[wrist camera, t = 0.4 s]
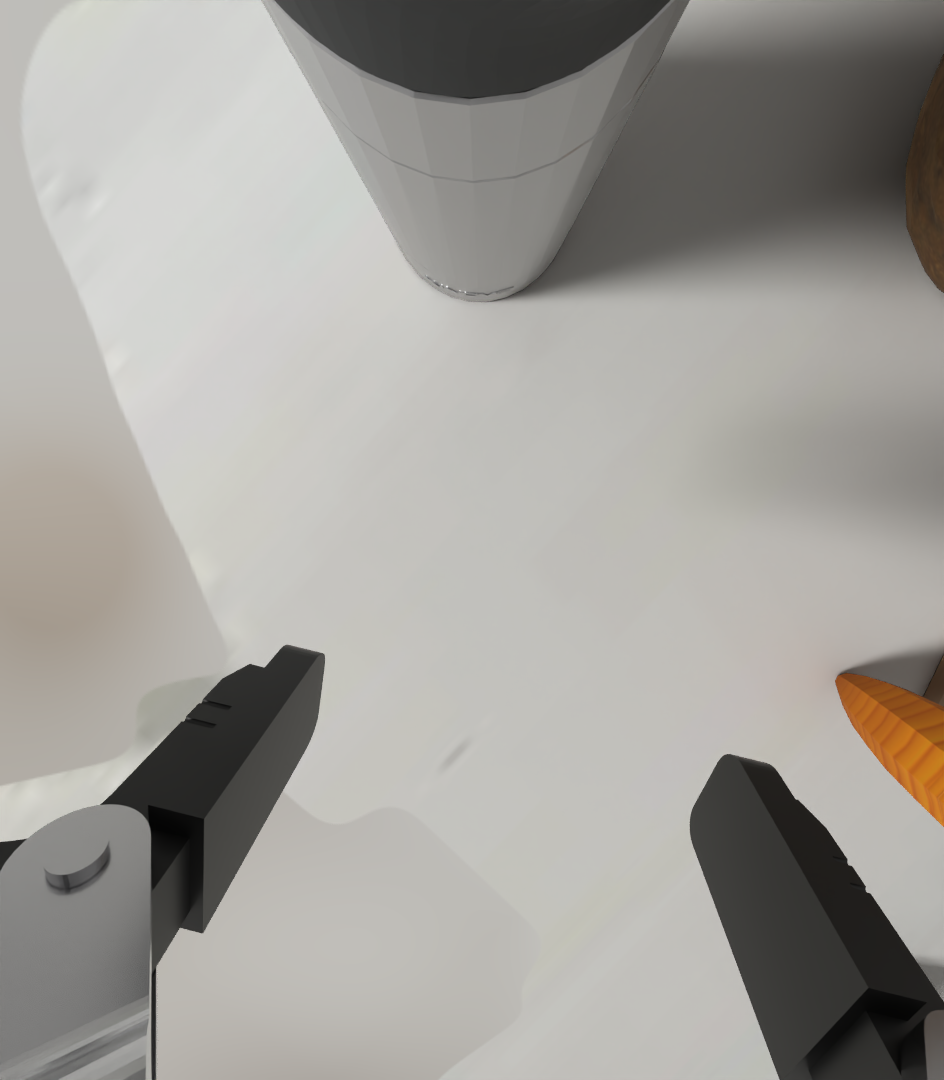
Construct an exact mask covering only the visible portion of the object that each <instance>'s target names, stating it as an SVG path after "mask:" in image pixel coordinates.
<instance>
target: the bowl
mask: <svg viewBox="0 0 944 1080" xmlns="http://www.w3.org/2000/svg"><path fill="white" fill-rule="evenodd" d="M906 221H907V229H908V232H909V234H910V237H911V239H912V242H913V244H914V247H915V249H916V252H917V254H918V256H919V259H920V261H921V263H922V266H923V268H924V270H925V272H926V273H927V275H928V276H929V277H930V279H931V280H932V281H933V282H934V284H935V285H936V286H937V288H938V289H939V290H941V291H942V292H943V293H944V54H943V56H942V58H941V61H940V63H939V65H938V68H937V70H936V72H935V75H934V77H933V80H932V82H931V85H930V87H929V90H928V93H927V95H926V98H925V100H924V103H923V105H922V108H921V111H920V114H919V117H918V121H917V125H916V128H915V132H914V136H913V140H912V144H911V148H910V152H909V156H908V161H907V165H906Z"/></svg>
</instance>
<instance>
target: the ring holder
mask: <svg viewBox="0 0 944 1080" xmlns="http://www.w3.org/2000/svg"><path fill="white" fill-rule="evenodd" d="M923 697H924V698H926V699H928V700H930V701H933V702H935V703H937V704H939V705H941V706H943V707H944V655H943V657H942V659H941V662H940V664H939V666H938V668H937V670H936V672H935V674H934V676H933V678H932V680H931V682H930V684H929V686H928V688H927V690H926V692H925V694H924V696H923Z"/></svg>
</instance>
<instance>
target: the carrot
mask: <svg viewBox="0 0 944 1080" xmlns="http://www.w3.org/2000/svg"><path fill="white" fill-rule="evenodd" d="M835 683H836V686H837V690H838V693H839V696H840V699H841V702H842V705H843V707H844V709H845V711H846V713H847V715H848V717H849V719H850V721H851V723H852V725H853V727H854V728H855V730H856V731H857V732H858V734H859V735H860V736H861V738H862V739H863V741H864V742H865V743H866V745H867V746H868V747H869V749H870V750H871V751H872V752H873V754H874V755H875V756H876V757H877V759H878V760H879V761H880V762H881V764H882V765H883V766H884V767H885V769H886V770H887V771H888V772H889V773H890V774H891V775H892V776H893V777H894V778H895V779H896V780H897V781H898V782H899V783H900V784H901V785H902V786H903V787H904V788H905V789H906V790H907V791H908V792H909V793H910V794H911V795H912V796H913V797H914V798H915V799H916V800H917V801H918V802H919V803H920V804H921V805H922V806H923V807H924V808H925V809H926V810H927V811H928V812H929V813H930V814H931V815H932V816H933V817H934V818H935V819H936V820H937V821H938V822H939V823H940V824H941V825H942V826H943V827H944V707H943V706H941V705H939V704H937V703H935V702H933V701H930V700H928V699H926V698H924V697H921V696H919V695H917V694H915V693H912V692H910V691H908V690H906V689H903V688H900V687H898V686H895V685H892V684H889V683H886V682H883V681H880V680H877V679H873V678H870V677H867V676H862V675H856V674H849V673H845V674H841V675H838V676H837V678H836V680H835Z"/></svg>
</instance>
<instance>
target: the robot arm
mask: <svg viewBox="0 0 944 1080" xmlns="http://www.w3.org/2000/svg"><path fill="white" fill-rule="evenodd" d="M261 1H262V2H263V4H264V6H265V8H266V9H267V11H268V13H269V15H270V17H271V18H272V20H273V22H274V24H275V26H276V27H277V29H278V31H279V33H280V35H281V36H282V38H283V40H284V42H285V44H286V45H287V47H288V49H289V51H290V53H291V54H292V56H293V57H294V59H295V60H296V62H297V64H298V66H299V68H300V69H301V71H302V73H303V75H304V77H305V78H306V80H307V82H308V84H309V86H310V87H311V89H312V91H313V93H314V95H315V96H316V98H317V100H318V102H319V104H320V105H321V107H322V109H323V111H324V113H325V114H326V116H327V118H328V120H329V122H330V123H331V125H332V127H333V129H334V131H335V132H336V134H337V136H338V138H339V140H340V141H341V143H342V145H343V147H344V149H345V150H346V152H347V154H348V156H349V158H350V159H351V161H352V163H353V165H354V167H355V168H356V170H357V172H358V174H359V176H360V177H361V179H362V181H363V183H364V185H365V186H366V188H367V190H368V192H369V194H370V195H371V197H372V199H373V201H374V203H375V204H376V206H377V208H378V210H379V212H380V213H381V215H382V217H383V219H384V221H385V223H386V224H387V226H388V228H389V230H390V231H391V233H392V235H393V237H394V238H395V240H396V242H397V244H398V246H399V247H400V249H401V251H402V253H403V255H404V256H405V258H406V260H407V261H408V262H409V264H410V265H411V266H412V267H413V269H414V270H415V271H416V272H417V274H418V275H419V276H420V277H421V278H422V279H424V280H425V281H426V282H427V283H429V284H430V285H431V286H432V287H433V288H435V289H437V290H439V291H441V292H443V293H445V294H447V295H448V296H450V297H454V298H458V299H462V300H466V301H478V302H488V301H493V300H497V299H502V298H506V297H508V296H510V295H512V294H514V293H516V292H519V291H521V290H523V289H524V288H526V287H527V286H528V285H529V284H531V283H532V282H533V281H534V280H536V279H537V278H538V277H539V276H540V275H541V274H542V273H543V272H544V271H545V269H546V268H547V267H548V266H549V265H550V263H551V262H552V261H553V259H554V258H555V256H556V254H557V252H558V250H559V249H560V247H561V245H562V243H563V242H564V240H565V238H566V236H567V234H568V232H569V230H570V229H571V227H572V225H573V223H574V222H575V220H576V218H577V216H578V214H579V212H580V210H581V208H582V206H583V204H584V203H585V201H586V199H587V197H588V195H589V193H590V191H591V189H592V187H593V185H594V183H595V182H596V180H597V178H598V176H599V174H600V172H601V170H602V168H603V166H604V164H605V163H606V161H607V159H608V157H609V155H610V153H611V151H612V149H613V147H614V145H615V143H616V142H617V140H618V138H619V136H620V134H621V132H622V130H623V128H624V126H625V124H626V122H627V121H628V119H629V117H630V115H631V113H632V111H633V109H634V107H635V105H636V103H637V102H638V100H639V98H640V96H641V94H642V92H643V90H644V88H645V86H646V84H647V82H648V81H649V79H650V77H651V75H652V73H653V71H654V69H655V67H656V65H657V63H658V62H659V60H660V58H661V55H662V53H663V51H664V49H665V47H666V45H667V43H668V41H669V39H670V37H671V35H672V33H673V31H674V29H675V28H676V26H677V24H678V22H679V20H680V18H681V16H682V14H683V12H684V10H685V8H686V6H687V5H688V3H689V1H690V0H261ZM324 666H325V655H324V654H323V653H319V652H315V651H311V650H307V649H303V648H299V647H295V646H291V645H285V646H283V647H282V648H281V649H280V650H279V652H278V653H277V654H276V655H275V656H274V657H273V659H272V660H271V661H270V662H269V663H268V664H267V666H266V667H265V668H264V667H260V666H256V665H252V664H249V665H247V666H245V667H243V668H242V669H240V670H238V671H236V672H234V673H232V674H230V675H228V676H227V677H225V678H223V679H222V680H221V681H220V682H219V683H218V684H217V685H216V686H215V687H214V688H213V689H212V690H211V691H210V692H209V693H208V694H207V696H206V697H205V698H204V699H203V701H202V703H201V704H200V703H199V704H198V705H197V706H196V707H195V708H194V709H193V710H192V711H191V712H190V713H189V714H188V715H187V716H186V719H185V721H184V722H181V723H180V724H179V725H178V726H177V727H176V728H175V729H174V730H173V731H172V732H171V733H170V734H169V735H168V736H167V737H166V738H165V739H164V740H163V741H162V742H161V743H160V745H159V746H158V747H157V748H156V749H155V750H154V751H153V752H152V753H151V754H150V755H149V756H148V757H147V758H146V759H145V760H144V761H143V762H142V763H141V764H140V765H139V766H138V767H137V769H136V770H135V771H134V772H133V773H132V774H131V775H130V776H129V777H128V778H127V779H126V780H125V781H124V782H123V783H122V784H121V785H120V786H119V787H118V788H117V789H116V790H115V791H114V792H113V794H112V795H110V796H109V797H108V798H107V799H106V800H105V801H104V802H103V803H102V804H100V805H97V806H92V807H87V808H83V809H80V810H77V811H74V812H72V813H69V814H67V815H65V816H62V817H60V818H58V819H56V820H54V821H53V822H51V823H49V824H47V825H46V826H44V827H43V828H41V829H40V830H38V831H37V832H35V833H34V834H33V835H32V836H30V837H29V838H28V839H23V840H16V841H7V842H0V1080H157V964H158V963H159V961H160V960H161V958H162V956H163V954H164V953H165V951H166V950H167V948H168V946H169V945H170V943H171V941H172V940H173V938H174V937H175V935H176V933H177V932H178V930H179V928H184V929H188V930H191V931H195V932H199V933H203V932H204V930H205V929H206V927H207V925H208V923H209V921H210V920H211V918H212V916H213V914H214V913H215V911H216V909H217V907H218V905H219V904H220V902H221V900H222V898H223V896H224V895H225V893H226V891H227V889H228V888H229V886H230V884H231V882H232V880H233V879H234V877H235V874H236V873H237V871H238V870H239V868H240V866H241V864H242V862H243V861H244V859H245V857H246V855H247V854H248V852H249V850H250V848H251V846H252V845H253V843H254V841H255V839H256V837H257V836H258V834H259V832H260V830H261V828H262V827H263V825H264V823H265V821H266V820H267V818H268V816H269V814H270V812H271V811H272V809H273V807H274V805H275V803H276V802H277V800H278V798H279V796H280V795H281V793H282V791H283V789H284V788H285V786H286V784H287V782H288V780H289V779H290V777H291V775H292V773H293V771H294V770H295V768H296V766H297V764H298V763H299V761H300V759H301V757H302V755H303V754H304V752H305V750H306V748H307V746H308V744H309V742H310V740H311V737H312V735H313V732H314V729H315V726H316V723H317V719H318V713H319V706H320V698H321V690H322V682H323V674H324ZM690 835H691V840H692V844H693V847H694V850H695V852H696V855H697V858H698V860H699V863H700V866H701V868H702V871H703V874H704V877H705V879H706V882H707V885H708V887H709V890H710V893H711V895H712V898H713V901H714V904H715V906H716V909H717V912H718V914H719V917H720V920H721V922H722V925H723V928H724V931H725V933H726V936H727V939H728V941H729V944H730V947H731V949H732V952H733V955H734V958H735V960H736V963H737V966H738V968H739V971H740V974H741V977H742V979H743V982H744V985H745V987H746V990H747V993H748V995H749V998H750V1001H751V1004H752V1006H753V1009H754V1012H755V1014H756V1017H757V1020H758V1022H759V1025H760V1028H761V1031H762V1033H763V1036H764V1039H765V1041H766V1044H767V1047H768V1049H769V1052H770V1055H771V1058H772V1060H773V1063H774V1066H775V1068H776V1071H777V1074H778V1076H779V1079H780V1080H944V1002H943V1000H942V999H941V997H940V996H939V994H938V993H937V991H936V990H935V988H934V987H933V985H932V984H931V982H930V981H929V979H928V978H927V976H926V975H925V974H924V972H923V971H922V969H921V968H920V966H919V965H918V963H917V962H916V960H915V959H914V957H913V956H912V954H911V953H910V951H909V950H908V948H907V947H906V945H905V944H904V942H903V941H902V939H901V938H900V937H899V935H898V934H897V932H896V931H895V929H894V928H893V926H892V925H891V923H890V922H889V920H888V919H887V917H886V916H885V914H884V913H883V911H882V910H881V908H880V907H879V905H878V904H877V902H876V901H875V900H874V898H873V897H872V895H871V894H870V893H867V892H866V890H865V887H866V886H865V885H864V883H863V882H862V880H861V879H860V877H859V876H858V874H857V873H856V871H855V870H854V868H853V867H852V866H849V865H848V864H847V858H846V857H845V855H844V854H843V852H842V851H841V849H840V848H839V846H838V845H837V843H836V842H835V840H834V839H833V837H832V836H831V834H830V833H829V831H828V830H827V829H826V828H825V827H824V826H823V825H822V824H821V822H820V821H819V820H818V819H817V818H816V817H815V816H814V815H813V814H812V813H811V812H810V811H809V810H808V809H807V808H806V807H805V806H804V805H803V804H802V803H801V802H800V801H799V800H796V799H795V798H794V796H793V795H792V793H791V792H790V790H789V789H788V787H787V786H786V784H785V783H784V781H783V779H782V778H781V776H780V775H779V773H778V772H777V771H776V769H775V768H774V767H773V766H771V765H770V764H767V763H764V762H760V761H755V760H751V759H747V758H743V757H739V756H735V755H731V754H727V755H724V756H722V757H721V758H720V760H719V761H718V763H717V765H716V767H715V768H714V770H713V772H712V774H711V776H710V778H709V779H708V781H707V783H706V785H705V787H704V788H703V790H702V792H701V794H700V796H699V798H698V799H697V801H696V803H695V805H694V807H693V809H692V812H691V817H690Z"/></svg>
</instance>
